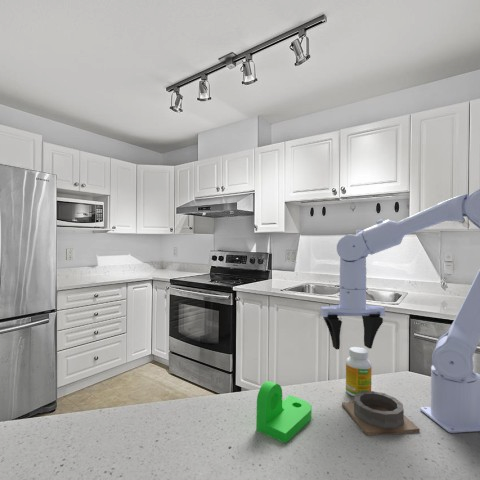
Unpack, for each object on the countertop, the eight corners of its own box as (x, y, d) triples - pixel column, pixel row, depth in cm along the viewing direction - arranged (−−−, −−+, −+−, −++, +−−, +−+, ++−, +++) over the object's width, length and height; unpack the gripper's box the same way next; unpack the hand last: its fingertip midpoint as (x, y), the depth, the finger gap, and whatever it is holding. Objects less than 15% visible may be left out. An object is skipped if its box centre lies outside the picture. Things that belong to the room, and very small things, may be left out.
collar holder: (387, 403, 66) (387, 388, 66) (419, 432, 56) (419, 414, 56) (342, 405, 65) (342, 390, 65) (366, 435, 55) (366, 417, 55)
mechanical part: (285, 445, 53) (285, 397, 53) (256, 431, 57) (256, 386, 57) (316, 414, 62) (317, 374, 62) (289, 404, 66) (290, 366, 66)
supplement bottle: (358, 400, 67) (359, 355, 67) (340, 390, 72) (341, 347, 72) (376, 395, 70) (377, 351, 70) (357, 385, 75) (358, 344, 75)
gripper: (373, 285, 77) (372, 341, 77) (315, 285, 75) (315, 342, 75) (390, 289, 70) (389, 351, 70) (327, 290, 68) (326, 353, 68)
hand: (352, 347), depth 72 cm, fingers open, 7 cm apart
